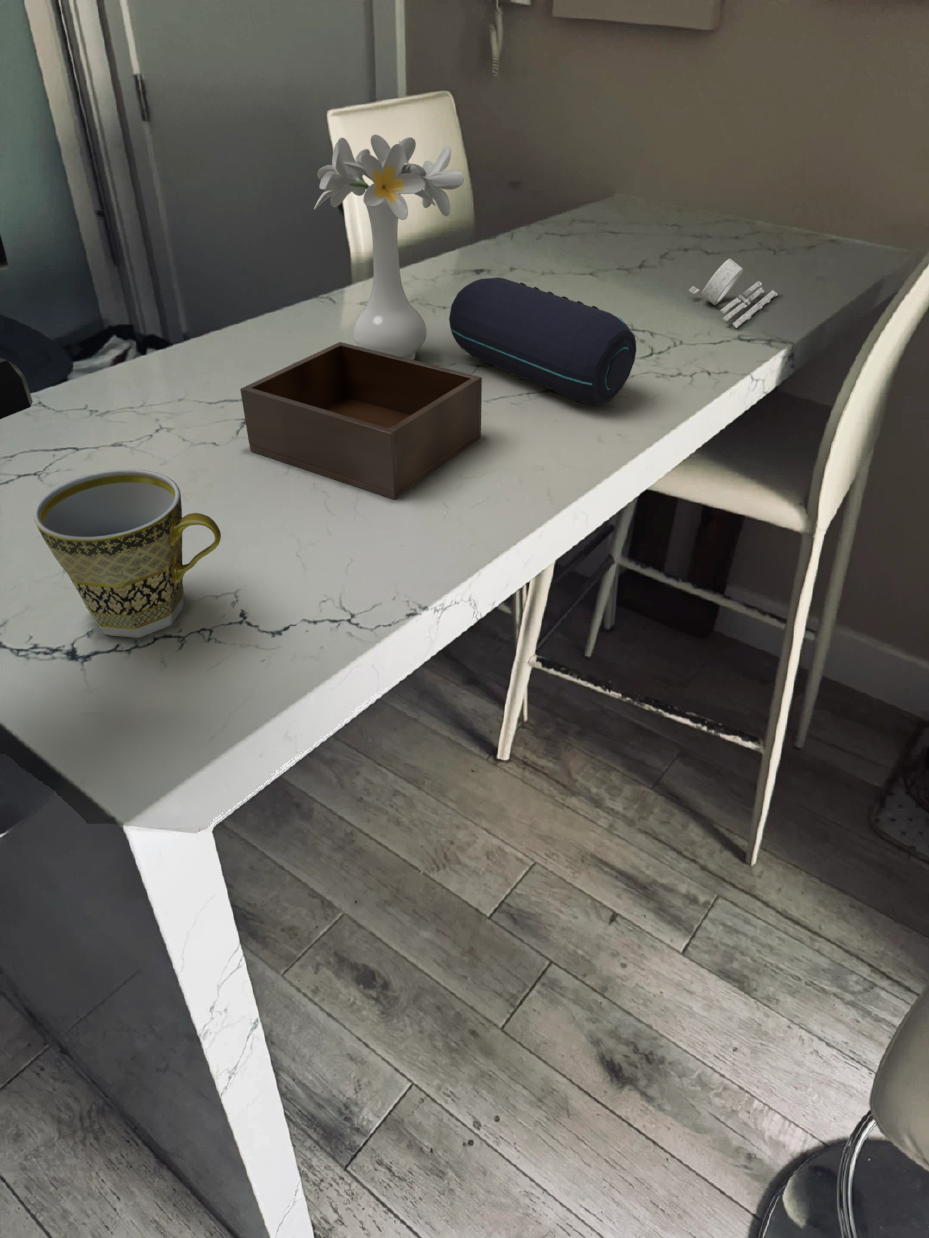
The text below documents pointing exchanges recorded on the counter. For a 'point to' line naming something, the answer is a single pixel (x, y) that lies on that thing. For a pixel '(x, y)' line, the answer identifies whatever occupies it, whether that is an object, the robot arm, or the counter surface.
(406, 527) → the counter surface
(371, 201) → the flower vase
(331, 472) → the crate
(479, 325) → the portable speaker
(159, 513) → the ceramic cup
